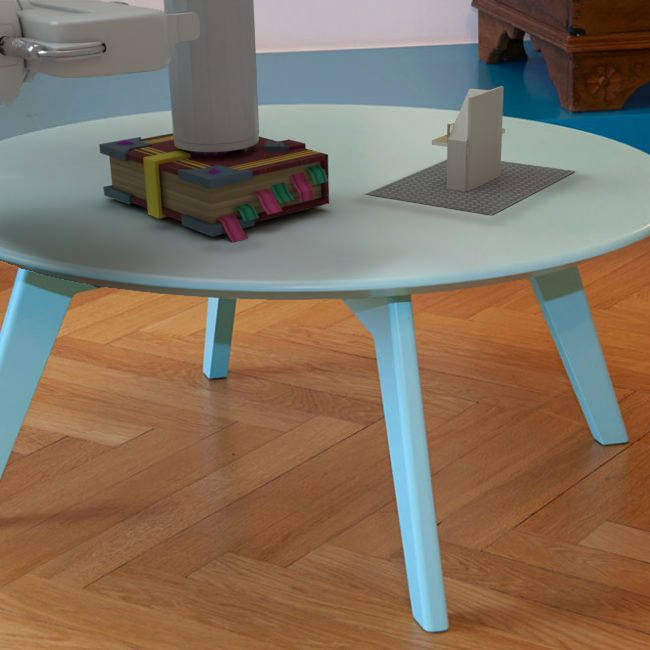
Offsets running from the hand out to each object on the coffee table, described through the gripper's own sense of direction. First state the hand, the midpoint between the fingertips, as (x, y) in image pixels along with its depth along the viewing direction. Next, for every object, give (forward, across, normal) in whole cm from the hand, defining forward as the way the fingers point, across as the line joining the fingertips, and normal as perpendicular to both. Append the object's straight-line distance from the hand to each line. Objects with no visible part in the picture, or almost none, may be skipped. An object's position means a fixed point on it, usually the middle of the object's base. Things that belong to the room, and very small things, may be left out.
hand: (159, 19), depth 80 cm
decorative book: (+4, 0, +15) cm, 15 cm away
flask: (+4, 0, +10) cm, 10 cm away
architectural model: (+24, -8, +15) cm, 29 cm away
